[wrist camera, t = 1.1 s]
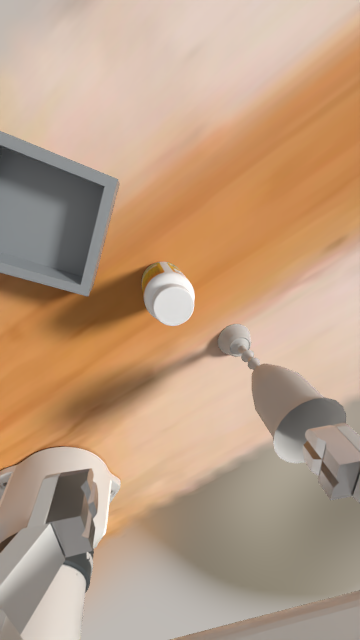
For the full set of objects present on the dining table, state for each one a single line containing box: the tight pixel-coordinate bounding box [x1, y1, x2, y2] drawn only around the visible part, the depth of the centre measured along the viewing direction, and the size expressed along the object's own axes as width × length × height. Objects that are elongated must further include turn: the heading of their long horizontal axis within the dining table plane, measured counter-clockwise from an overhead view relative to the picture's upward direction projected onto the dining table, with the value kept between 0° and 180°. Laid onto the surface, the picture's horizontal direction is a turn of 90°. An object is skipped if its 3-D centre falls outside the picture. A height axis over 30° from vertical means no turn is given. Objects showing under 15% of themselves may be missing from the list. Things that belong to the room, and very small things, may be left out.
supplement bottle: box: [141, 262, 195, 326], centre depth 30 cm, size 5×5×10 cm
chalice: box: [218, 324, 346, 463], centre depth 31 cm, size 7×7×18 cm
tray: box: [0, 131, 119, 296], centre depth 27 cm, size 12×12×4 cm
